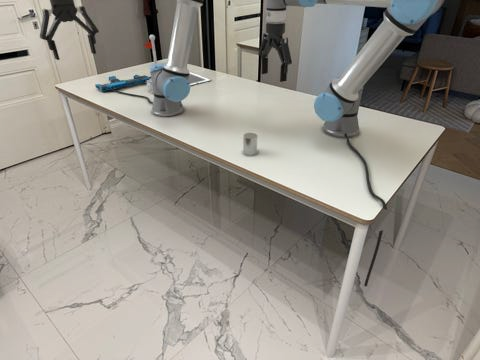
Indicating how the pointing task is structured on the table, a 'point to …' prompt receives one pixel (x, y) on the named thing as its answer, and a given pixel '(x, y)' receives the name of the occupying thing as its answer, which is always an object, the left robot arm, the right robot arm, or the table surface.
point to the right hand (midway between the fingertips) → (273, 77)
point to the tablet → (196, 79)
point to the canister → (250, 144)
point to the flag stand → (152, 46)
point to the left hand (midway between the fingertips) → (76, 56)
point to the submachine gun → (122, 82)
